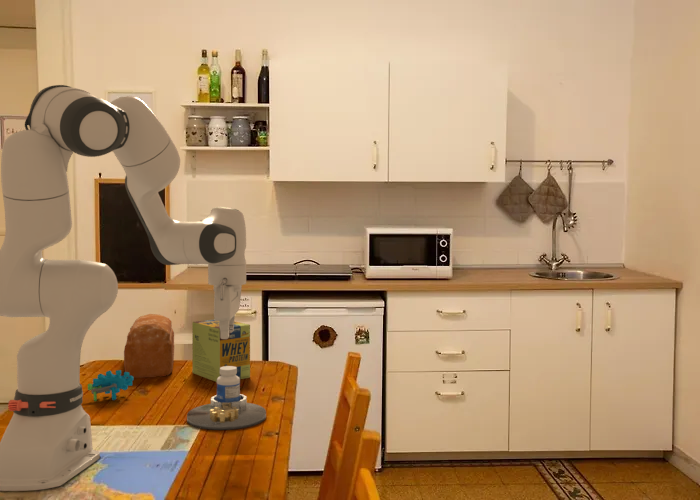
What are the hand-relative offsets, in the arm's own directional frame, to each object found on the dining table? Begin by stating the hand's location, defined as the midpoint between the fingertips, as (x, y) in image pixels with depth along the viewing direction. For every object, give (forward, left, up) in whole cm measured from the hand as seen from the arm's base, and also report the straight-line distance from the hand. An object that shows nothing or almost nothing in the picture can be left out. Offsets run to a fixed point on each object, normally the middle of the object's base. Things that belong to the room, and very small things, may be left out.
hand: (227, 335), depth 161 cm
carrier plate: (-4, 0, -19) cm, 19 cm away
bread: (+48, +29, -19) cm, 59 cm away
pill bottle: (0, 0, -18) cm, 18 cm away
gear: (+16, +31, -19) cm, 40 cm away
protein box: (+37, +7, -19) cm, 43 cm away
